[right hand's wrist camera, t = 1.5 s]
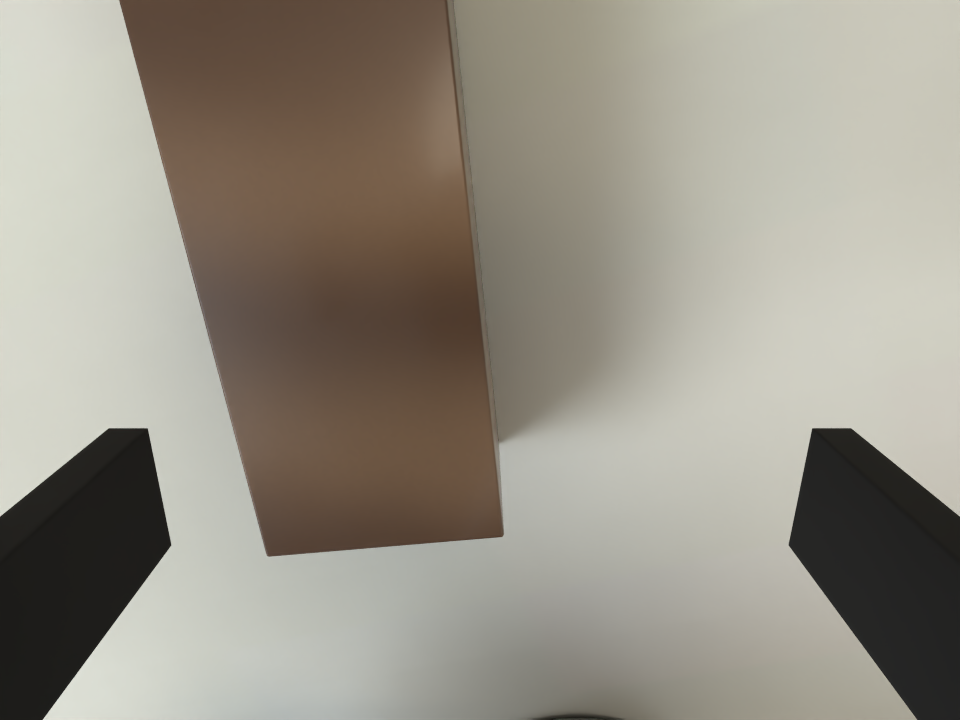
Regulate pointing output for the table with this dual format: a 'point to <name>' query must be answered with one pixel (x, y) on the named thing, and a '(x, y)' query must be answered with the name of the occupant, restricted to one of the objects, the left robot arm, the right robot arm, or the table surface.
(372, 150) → the slab
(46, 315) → the table surface
